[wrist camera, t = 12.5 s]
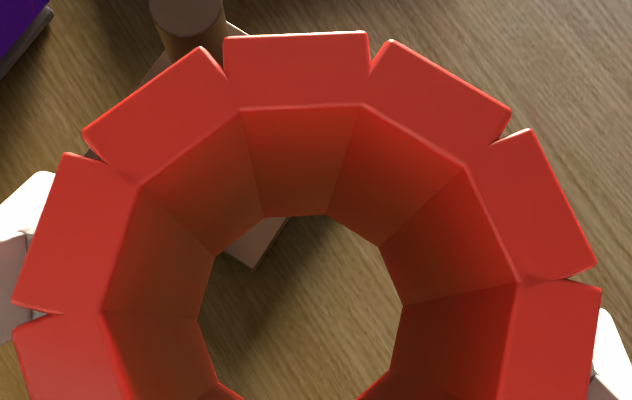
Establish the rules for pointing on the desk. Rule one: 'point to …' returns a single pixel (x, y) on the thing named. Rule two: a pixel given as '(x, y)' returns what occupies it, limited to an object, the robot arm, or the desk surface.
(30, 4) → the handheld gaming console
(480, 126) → the ring
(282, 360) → the desk surface
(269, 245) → the ring holder
